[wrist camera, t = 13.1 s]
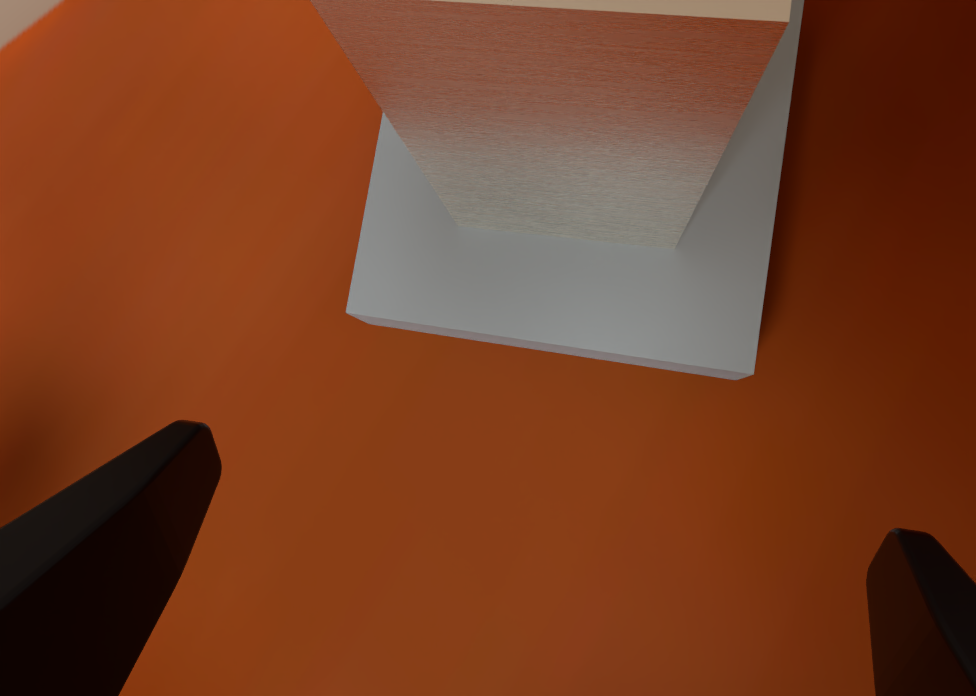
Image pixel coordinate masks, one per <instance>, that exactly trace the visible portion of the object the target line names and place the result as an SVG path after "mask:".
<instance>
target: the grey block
mask: <svg viewBox="0 0 976 696" xmlns="http://www.w3.org/2000/svg"><path fill="white" fill-rule="evenodd" d="M803 5H804V0H792V1H791V10H790V18H789V23H788V25H787V27H786V29H785V31H784V33H783V35H782V37H781V39H780V41H779V43H778V45H777V47H776V49H775V51H774V53H773V55H772V57H771V59H770V61H769V63H768V65H767V67H766V69H765V71H764V73H763V75H762V77H761V79H760V81H759V83H758V85H757V87H756V89H755V91H754V93H753V95H752V97H751V99H750V101H749V102H748V104H747V106H746V108H745V110H744V112H743V114H742V116H741V118H740V120H739V122H738V124H737V126H736V128H735V130H734V132H733V134H732V136H731V138H730V140H729V142H728V144H727V146H726V148H725V150H724V152H723V154H722V156H721V158H720V160H719V162H718V164H717V166H716V168H715V170H714V172H713V174H712V176H711V178H710V180H709V182H708V184H707V186H706V188H705V190H704V192H703V194H702V196H701V198H700V200H699V202H698V204H697V206H696V208H695V210H694V212H693V213H692V215H691V217H690V219H689V221H688V223H687V225H686V227H685V229H684V231H683V233H682V235H681V237H680V239H679V241H678V243H677V245H676V247H675V249H668V248H659V247H649V246H640V245H631V244H621V243H612V242H602V241H593V240H584V239H574V238H565V237H556V236H546V235H537V234H528V233H518V232H509V231H500V230H490V229H481V228H471V227H462V226H458V225H457V224H456V222H455V221H454V219H453V218H452V216H451V215H450V213H449V212H448V210H447V208H446V207H445V205H444V204H443V202H442V201H441V199H440V198H439V196H438V195H437V193H436V192H435V190H434V189H433V187H432V186H431V184H430V183H429V181H428V179H427V178H426V176H425V175H424V173H423V172H422V170H421V169H420V167H419V166H418V164H417V163H416V161H415V160H414V158H413V157H412V155H411V154H410V152H409V150H408V149H407V147H406V146H405V144H404V143H403V141H402V140H401V138H400V137H399V135H398V134H397V132H396V131H395V129H394V128H393V126H392V125H391V123H390V121H389V120H388V118H387V117H386V115H385V114H384V112H383V115H382V121H381V126H380V131H379V137H378V142H377V148H376V153H375V158H374V164H373V169H372V174H371V180H370V185H369V191H368V196H367V201H366V207H365V212H364V217H363V223H362V228H361V234H360V239H359V244H358V250H357V255H356V260H355V266H354V271H353V277H352V282H351V287H350V293H349V298H348V303H347V309H346V313H347V314H349V315H351V316H354V317H356V318H358V319H360V320H362V321H364V322H366V323H368V324H373V325H379V326H386V327H392V328H399V329H405V330H412V331H419V332H425V333H432V334H438V335H445V336H451V337H458V338H464V339H471V340H477V341H484V342H490V343H497V344H503V345H510V346H516V347H523V348H529V349H536V350H542V351H549V352H555V353H562V354H569V355H575V356H582V357H588V358H595V359H601V360H608V361H614V362H621V363H627V364H634V365H640V366H647V367H653V368H660V369H666V370H673V371H679V372H686V373H692V374H699V375H705V376H712V377H719V378H725V379H732V380H738V379H741V378H744V377H748V376H751V375H754V368H755V361H756V353H757V346H758V339H759V331H760V324H761V316H762V309H763V302H764V294H765V287H766V279H767V272H768V265H769V257H770V250H771V242H772V235H773V227H774V220H775V213H776V205H777V198H778V190H779V183H780V176H781V168H782V161H783V153H784V146H785V139H786V131H787V124H788V116H789V109H790V102H791V94H792V87H793V79H794V72H795V65H796V57H797V50H798V42H799V35H800V28H801V20H802V13H803Z"/></svg>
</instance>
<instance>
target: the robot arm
mask: <svg viewBox="0 0 976 696" xmlns="http://www.w3.org/2000/svg"><path fill="white" fill-rule="evenodd" d="M221 470H222V466H221V460H220V457H219V454H218V450H217V447H216V444H215V441H214V438H213V435H212V432H211V430H210V428H209V427H208V426H207V425H206V424H205V423H201V422H195V421H188V420H178V421H175V422H173V423H171V424H169V425H168V426H166V427H164V428H163V429H161V430H159V431H158V432H156V433H155V434H153V435H151V436H150V437H148V438H146V439H145V440H143V441H142V442H140V443H138V444H137V445H135V446H133V447H132V448H130V449H128V450H127V451H125V452H124V453H122V454H120V455H119V456H117V457H115V458H114V459H112V460H111V461H109V462H107V463H106V464H104V465H102V466H101V467H99V468H97V469H96V470H94V471H93V472H91V473H89V474H88V475H86V476H84V477H83V478H81V479H80V480H78V481H76V482H75V483H73V484H71V485H70V486H68V487H66V488H65V489H63V490H62V491H60V492H58V493H57V494H55V495H53V496H52V497H50V498H49V499H47V500H45V501H44V502H42V503H40V504H39V505H37V506H36V507H34V508H32V509H31V510H29V511H27V512H26V513H24V514H22V515H21V516H19V517H18V518H16V519H14V520H13V521H11V522H9V523H8V524H6V525H5V526H3V527H1V528H0V696H119V694H120V692H121V690H122V688H123V686H124V684H125V682H126V680H127V678H128V677H129V675H130V673H131V671H132V669H133V667H134V665H135V663H136V661H137V659H138V657H139V656H140V654H141V652H142V650H143V648H144V646H145V644H146V642H147V640H148V638H149V637H150V635H151V633H152V631H153V629H154V627H155V625H156V623H157V621H158V619H159V617H160V616H161V614H162V612H163V610H164V608H165V606H166V604H167V602H168V600H169V598H170V597H171V595H172V593H173V591H174V589H175V587H176V585H177V583H178V581H179V579H180V577H181V575H182V572H183V570H184V568H185V565H186V563H187V561H188V558H189V556H190V553H191V551H192V548H193V546H194V543H195V540H196V538H197V535H198V533H199V530H200V528H201V525H202V523H203V520H204V518H205V515H206V513H207V510H208V508H209V505H210V503H211V500H212V497H213V495H214V492H215V490H216V487H217V485H218V482H219V480H220V476H221ZM866 586H867V599H868V611H869V623H870V635H871V647H872V659H873V672H874V684H875V693H876V696H976V583H975V582H974V581H973V580H972V579H971V578H970V577H969V575H968V574H967V573H966V572H965V571H964V570H963V569H962V568H961V567H960V565H959V564H958V563H957V562H956V561H955V560H954V559H953V558H952V556H951V555H950V554H949V553H948V552H947V551H946V550H945V549H944V548H943V546H942V545H941V544H940V543H939V542H938V541H937V540H936V539H935V538H934V537H933V536H931V535H930V534H928V533H926V532H921V531H915V530H908V529H902V528H894V529H892V530H891V531H889V533H888V534H887V535H886V537H885V539H884V541H883V542H882V544H881V546H880V548H879V549H878V551H877V553H876V555H875V556H874V558H873V560H872V562H871V564H870V566H869V568H868V572H867V579H866Z"/></svg>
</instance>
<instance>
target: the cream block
mask: <svg viewBox="0 0 976 696" xmlns="http://www.w3.org/2000/svg"><path fill="white" fill-rule="evenodd" d="M310 1H311V2H312V4H313V5H314V7H315V9H316V10H317V12H318V13H319V15H320V16H321V18H322V19H323V21H324V22H325V24H326V25H327V27H328V28H329V30H330V31H331V33H332V34H333V36H334V38H335V39H336V41H337V42H338V44H339V45H340V47H341V48H342V50H343V51H344V53H345V54H346V56H347V57H348V59H349V60H350V62H351V63H352V65H353V67H354V68H355V70H356V71H357V73H358V74H359V76H360V77H361V79H362V80H363V82H364V83H365V85H366V86H367V88H368V89H369V91H370V92H371V94H372V96H373V97H374V99H375V100H376V102H377V103H378V105H379V106H380V108H381V109H382V111H383V112H384V114H385V115H386V117H387V118H388V120H389V121H390V123H391V125H392V126H393V128H394V129H395V131H396V132H397V134H398V135H399V137H400V138H401V140H402V141H403V143H404V144H405V146H406V147H407V149H408V150H409V152H410V154H411V155H412V157H413V158H414V160H415V161H416V163H417V164H418V166H419V167H420V169H421V170H422V172H423V173H424V175H425V176H426V178H427V179H428V181H429V183H430V184H431V186H432V187H433V189H434V190H435V192H436V193H437V195H438V196H439V198H440V199H441V201H442V202H443V204H444V205H445V207H446V208H447V210H448V212H449V213H450V215H451V216H452V218H453V219H454V221H455V222H456V224H457V225H458V226H462V227H471V228H481V229H490V230H500V231H509V232H518V233H528V234H537V235H546V236H556V237H565V238H574V239H584V240H593V241H602V242H612V243H621V244H631V245H640V246H649V247H659V248H668V249H675V247H676V245H677V243H678V241H679V239H680V237H681V235H682V233H683V231H684V229H685V227H686V225H687V223H688V221H689V219H690V217H691V215H692V213H693V212H694V210H695V208H696V206H697V204H698V202H699V200H700V198H701V196H702V194H703V192H704V190H705V188H706V186H707V184H708V182H709V180H710V178H711V176H712V174H713V172H714V170H715V168H716V166H717V164H718V162H719V160H720V158H721V156H722V154H723V152H724V150H725V148H726V146H727V144H728V142H729V140H730V138H731V136H732V134H733V132H734V130H735V128H736V126H737V124H738V122H739V120H740V118H741V116H742V114H743V112H744V110H745V108H746V106H747V104H748V102H749V101H750V99H751V97H752V95H753V93H754V91H755V89H756V87H757V85H758V83H759V81H760V79H761V77H762V75H763V73H764V71H765V69H766V67H767V65H768V63H769V61H770V59H771V57H772V55H773V53H774V51H775V49H776V47H777V45H778V43H779V41H780V39H781V37H782V35H783V33H784V31H785V29H786V27H787V25H788V23H789V18H790V10H791V1H792V0H310Z"/></svg>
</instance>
